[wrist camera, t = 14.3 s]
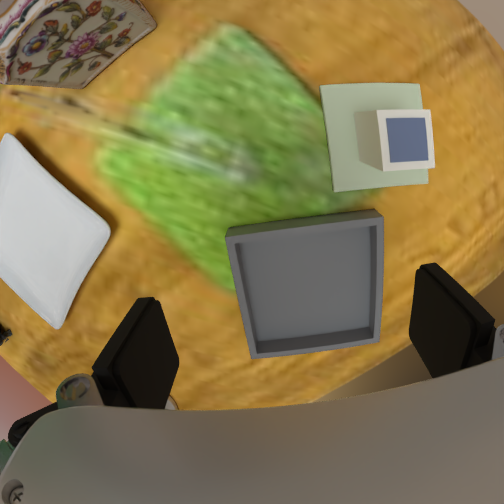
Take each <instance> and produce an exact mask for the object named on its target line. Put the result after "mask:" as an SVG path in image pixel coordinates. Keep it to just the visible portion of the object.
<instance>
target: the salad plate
mask: <svg viewBox="0 0 504 504" xmlns="http://www.w3.org/2000/svg"><path fill="white" fill-rule="evenodd" d="M110 234H111V229H110V226H109V224H108V223H107V222H106V221H105V220H104V219H103V218H102V217H101V216H100V215H98V214H97V213H96V212H95V211H94V210H92V209H91V208H90V207H89V206H87V205H86V204H85V203H84V202H82V201H81V200H80V199H79V198H77V197H76V196H75V195H74V194H72V193H71V192H70V191H69V190H68V189H67V188H65V187H64V186H63V185H62V184H61V183H60V182H59V181H58V180H56V179H55V178H54V177H53V176H52V175H51V174H50V173H49V172H48V171H47V170H46V169H45V168H44V167H43V166H42V165H41V164H40V163H39V162H38V161H37V160H36V159H35V158H34V157H33V156H32V155H31V154H30V153H29V152H28V151H27V150H26V148H25V147H24V146H23V145H22V144H21V143H20V142H19V141H18V139H17V138H16V137H14V136H13V135H12V134H10V133H6V134H5V135H4V136H3V138H2V141H1V143H0V277H1V278H2V279H3V280H4V281H5V283H6V284H7V285H8V286H9V287H10V288H11V289H12V290H13V291H14V292H15V293H16V294H17V295H19V296H20V297H21V298H22V299H23V300H24V301H25V302H26V303H27V304H28V305H29V306H30V307H31V308H32V309H33V310H34V311H35V312H36V313H37V314H39V315H40V316H41V317H42V318H43V319H44V320H45V321H46V322H48V323H49V324H50V325H51V326H52V327H54V328H55V329H60V328H61V326H62V325H63V323H64V321H65V318H66V316H67V313H68V311H69V308H70V306H71V304H72V302H73V299H74V297H75V295H76V293H77V291H78V289H79V287H80V285H81V284H82V282H83V280H84V278H85V276H86V275H87V273H88V271H89V270H90V268H91V267H92V265H93V264H94V262H95V260H96V259H97V257H98V256H99V254H100V253H101V251H102V250H103V248H104V246H105V245H106V243H107V241H108V239H109V237H110Z"/></svg>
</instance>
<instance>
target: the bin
mask: <svg viewBox="0 0 504 504" xmlns="http://www.w3.org/2000/svg"><path fill="white" fill-rule="evenodd" d="M225 240H226V245H227V250H228V255H229V260H230V264H231V269H232V274H233V278H234V283H235V288H236V292H237V297H238V302H239V306H240V311H241V315H242V320H243V324H244V329H245V333H246V338H247V342H248V346H249V351H250V355H251V359H258V358H269V357H279V356H288V355H297V354H305V353H313V352H321V351H328V350H334V349H341V348H347V347H354V346H359V345H365V344H371V343H376V342H379V339H380V327H381V314H382V298H383V273H384V217H383V216H382V215H381V214H380V213H379V212H378V211H376V210H375V209H369V210H360V211H352V212H343V213H335V214H327V215H319V216H311V217H303V218H295V219H288V220H280V221H273V222H265V223H258V224H251V225H244V226H237V227H230V228H228V231H227V233H226V236H225Z"/></svg>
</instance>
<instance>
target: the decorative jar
mask: <svg viewBox="0 0 504 504" xmlns="http://www.w3.org/2000/svg"><path fill="white" fill-rule="evenodd" d="M156 26H157V25H156V22H155V20H154V19H153V18H152V16H151V15H150V14H149V12H148V11H147V10H146V8H145V7H144V6H143V4H142V3H141V2H140V1H139V0H0V83H1V84H7V85H30V86H43V87H57V88H72V89H82V88H84V87H85V86H86V85H87V84H88V83H89V82H90V81H91V80H92V79H93V78H94V77H96V76H97V75H98V74H99V73H100V72H101V71H103V70H104V69H105V68H106V67H107V66H108V65H109V64H110V63H112V62H113V61H114V60H115V59H116V58H117V57H118V56H120V55H121V54H122V53H123V52H124V51H126V50H127V49H128V48H129V47H131V46H132V45H133V44H134V43H136V42H137V41H138V40H140V39H141V38H142V37H144V36H145V35H146V34H148V33H149V32H151V31H152V30H153V29H154V28H155V27H156Z"/></svg>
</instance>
